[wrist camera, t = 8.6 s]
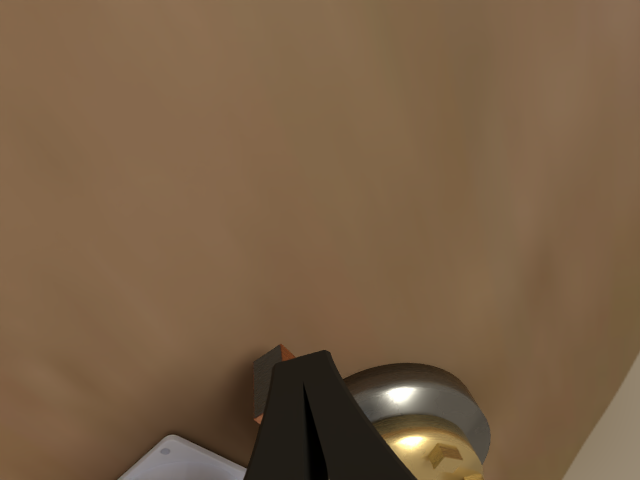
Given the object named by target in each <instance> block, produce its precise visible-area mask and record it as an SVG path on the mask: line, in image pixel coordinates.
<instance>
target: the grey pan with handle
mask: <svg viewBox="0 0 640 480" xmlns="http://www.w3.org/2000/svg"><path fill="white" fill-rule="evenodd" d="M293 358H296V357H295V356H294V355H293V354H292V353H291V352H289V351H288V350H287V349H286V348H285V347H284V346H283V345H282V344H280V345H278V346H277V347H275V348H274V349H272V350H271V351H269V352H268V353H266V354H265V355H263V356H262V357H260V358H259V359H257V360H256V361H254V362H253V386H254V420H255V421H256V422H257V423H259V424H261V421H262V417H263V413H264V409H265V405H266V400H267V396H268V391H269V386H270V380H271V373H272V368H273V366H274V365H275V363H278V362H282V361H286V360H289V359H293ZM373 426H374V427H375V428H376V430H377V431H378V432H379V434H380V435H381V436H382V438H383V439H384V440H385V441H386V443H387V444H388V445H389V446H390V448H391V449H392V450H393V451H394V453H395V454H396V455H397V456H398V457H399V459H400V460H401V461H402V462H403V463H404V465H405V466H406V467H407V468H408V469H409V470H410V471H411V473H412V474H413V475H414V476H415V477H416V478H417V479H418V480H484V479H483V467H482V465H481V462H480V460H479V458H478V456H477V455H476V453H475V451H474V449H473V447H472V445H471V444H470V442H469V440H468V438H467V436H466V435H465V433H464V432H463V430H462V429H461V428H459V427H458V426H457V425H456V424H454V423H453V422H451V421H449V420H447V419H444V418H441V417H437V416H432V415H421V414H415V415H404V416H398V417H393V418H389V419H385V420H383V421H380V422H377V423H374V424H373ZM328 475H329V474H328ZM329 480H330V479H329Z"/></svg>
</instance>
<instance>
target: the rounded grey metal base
mask: <svg viewBox="0 0 640 480" xmlns="http://www.w3.org/2000/svg"><path fill="white" fill-rule="evenodd" d="M343 381H344V383H345V384H346V386H347V388H348V389H349V391H350V393H351V394H352V396H353V397H354V399H355V400H356V402H357V403H358V405H359V406H360V407H361V409H362V410H363V412H364V413H365V415H366V416H367V417H368V419H369V420H370V422H371V423H372V424H374V423H377V422H380V421H383V420H385V419H389V418H393V417H398V416H404V415H415V414H421V415H432V416H437V417H441V418H444V419H447V420H449V421H451V422H453V423H454V424H456V425H457V426H458V427H459V428H461V429H462V430H463V432H464V433H465V435H466V436H467V438H468V440H469V442H470V444H471V445H472V447H473V449H474V451H475V453H476V455H477V456H478V458H479V460H480V462H481V465H482V464H483V462H484V460H485V458H486V456H487V453H488V450H489V446H490V435H491V434H490V428H489V425H488V422H487V419H486V418H485V416H484V414H483V413H482V411H481V410H480V408H479V406H478V405H477V403H476V402H475V400H474V399H473V397H472V395H471V394H470V392H469V391H468V389H467V388H466V386H465V385H464V384H463V383H462V382H461V381H460V380H459V379H458V378H457V377H455V376H454V375H452V374H451V373H449V372H447V371H445V370H443V369H440V368H437V367H434V366H430V365H424V364H416V363H397V364H389V365H383V366H378V367H374V368H370V369H367V370H364V371H361V372H359V373H356V374H354V375H351V376H349V377H347V378H345V379H343Z"/></svg>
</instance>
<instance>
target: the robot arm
mask: <svg viewBox="0 0 640 480" xmlns="http://www.w3.org/2000/svg"><path fill="white" fill-rule="evenodd" d="M328 474H329V475H328ZM329 479H330V480H418V479H417V478H416V477H415V476H414V475H413V474H412V473H411V471H410V470H409V469H408V468H407V467H406V466H405V465H404V463H403V462H402V461H401V460H400V459H399V457H398V456H397V455H396V454H395V453H394V451H393V450H392V449H391V448H390V446H389V445H388V444H387V443H386V441H385V440H384V439H383V438H382V436H381V435H380V434H379V432H378V431H377V430H376V428H375V427H374V426H373V424H372V423H371V422H370V420H369V419H368V417H367V416H366V415H365V413H364V412H363V410H362V409H361V407H360V406H359V405H358V403H357V402H356V400H355V399H354V397H353V396H352V394H351V393H350V391H349V389H348V388H347V386H346V384H345V383H344V381H343V379H342V377H341V376H340V374H339V372H338V370H337V368H336V366H335V364H334V361H333V359H332V356H331V353H330V352H328V351H326V350H322V351H319V352H315V353H311V354H308V355H304V356H300V357H297V358H293V359H289V360H286V361H282V362H278V363H275V365H274V366H273V368H272V373H271V380H270V386H269V391H268V396H267V400H266V405H265V409H264V413H263V417H262V421H261V424H260V428H259V431H258V435H257V438H256V442H255V445H254V449H253V452H252V455H251V458H250V461H249V464H248V467H247V469H246V468H244V467H242V466H240V465H238V464H236V463H234V462H232V461H230V460H227V459H225V458H223V457H221V456H219V455H217V454H215V453H213V452H211V451H209V450H207V449H204V448H202V447H200V446H198V445H196V444H194V443H192V442H190V441H188V440H186V439H184V438H181V437H179V436H177V435H168V436H166V437H164V438H163V439H162V440H161V441H160V442H159V443H158V444H157V445H156V446H154V447H153V448H152V449H151V450H150V451H149V452H148V453H147V454H145V455H144V456H143V457H142V458H141V459H140V460H139V461H138V462H137V463H135V464H134V465H133V466H132V467H131V468H130V469H129V470H128V471H126V472H125V473H124V474H123V475H122V476H121V477H120V478H119V479H117V480H329Z"/></svg>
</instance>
